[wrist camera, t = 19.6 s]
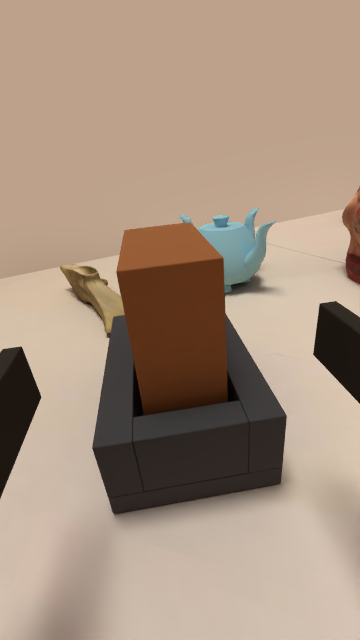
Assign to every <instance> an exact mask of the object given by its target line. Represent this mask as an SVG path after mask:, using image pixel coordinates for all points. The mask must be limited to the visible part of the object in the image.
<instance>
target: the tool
mask: <svg viewBox="0 0 360 640" xmlns="http://www.w3.org/2000/svg"><path fill="white" fill-rule="evenodd" d="M60 269H61V271H62V272H63V273H64V275H65V276H66V278H67V280H68V281H69V283H70V285H71V286H72V288H73V290H74V291H75V293H76V294H77V295H78V296H79V297H80V299H81V300H83V301H84V302H87V303H91V304H92V305H93V307H94V308H95V309H96V310H97V312H98V313H99V315H100V316H101V318H102V319H103V321H104V325H105V332H107V333H111V327H112V321H113V317H114V316H120V315H125V313H124V308H123V303H122V298H121V296H119V295H118V294H116V293H115V292H114V291H113V290H111V289H110V288H109V287H107V285H108V282H107V280H105V279H100V276H99V274H98V271H97V270H96V269H94V268H92V267H90V266H78V265H73V264H72V265H67V266H60Z"/></svg>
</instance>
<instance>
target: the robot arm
mask: <svg viewBox="0 0 360 640" xmlns="http://www.w3.org/2000/svg"><path fill="white" fill-rule="evenodd" d="M313 355H314V356H315V357H316V358H317V359H318V360H319V361H320V362H321V363H322V364H323V365H324V366H325V367H326V368H327V370H328V371H329V372H330V373H331V374H332V375H333V376H334V377H335V378H336V379H337V380H338V381H339V382H340V383H341V384H342V385H343V386H344V388H345V389H346V390H347V391H348V392H349V393H350V394H351V395H352V396H353V397H354V398H355V399H356V400H357V401H358V402H359V403H360V317H358V316H357V315H356V314H354V313H353V312H351V311H350V310H348V309H347V308H345V307H344V306H342V305H341V304H339V303H338V302H336V301H335V302H328V303H321V304H320V306H319V314H318V322H317V330H316V338H315V345H314V353H313ZM40 399H41V395H40V392H39V390H38V387H37V385H36V382H35V380H34V377H33V374H32V372H31V369H30V367H29V364H28V362H27V359H26V356H25V354H24V351H23V349H22V347H15V348H8V349H3V350H2V351H1V353H0V498H1V495H2V493H3V490H4V488H5V485H6V483H7V480H8V478H9V475H10V473H11V471H12V468H13V466H14V463H15V461H16V458H17V456H18V453H19V451H20V448H21V446H22V443H23V441H24V439H25V436H26V434H27V431H28V429H29V426H30V424H31V421H32V419H33V416H34V414H35V411H36V409H37V407H38V404H39V402H40Z"/></svg>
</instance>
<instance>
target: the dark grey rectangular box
mask: <svg viewBox="0 0 360 640" xmlns="http://www.w3.org/2000/svg"><path fill="white" fill-rule="evenodd" d="M225 320H226V356H227V391H228V402H226V403H219V404H213V405H207V406H201V407H195V408H188V409H182V410H176V411H170V412H164V413H157V414H151V415H144V410H143V405H142V400H141V395H140V390H139V385H138V380H137V374H136V369H135V364H134V359H133V354H132V349H131V344H130V339H129V334H128V329H127V323H126V318H125V315H120V316H114V317H113V321H112V327H111V334H110V340H109V346H108V353H107V359H106V365H105V372H104V378H103V384H102V390H101V397H100V403H99V409H98V416H97V422H96V428H95V435H94V441H93V447H92V448H93V451H94V455H95V458H96V461H97V464H98V467H99V470H100V473H101V476H102V479H103V483H104V486H105V489H106V492H107V495H108V498H109V501H110V504H111V507H112V511H113V513H114V514H116V513H121V512H127V511H132V510H138V509H143V508H149V507H154V506H160V505H165V504H171V503H176V502H182V501H187V500H193V499H198V498H204V497H209V496H215V495H220V494H226V493H231V492H237V491H242V490H248V489H253V488H259V487H264V486H270V485H275V484H280V483H281V473H282V463H283V452H284V441H285V429H286V418H287V415H286V414H285V412H284V410H283V409H282V407H281V405H280V404H279V402H278V400H277V399H276V397H275V395H274V394H273V392H272V390H271V389H270V387H269V385H268V384H267V382H266V380H265V379H264V377H263V375H262V374H261V372H260V370H259V369H258V367H257V365H256V364H255V362H254V360H253V359H252V357H251V355H250V354H249V352H248V350H247V349H246V347H245V345H244V344H243V342H242V340H241V339H240V337H239V335H238V334H237V332H236V330H235V329H234V327H233V325H232V324H231V322H230V320H229V318H228V317H227V315H226V313H225Z"/></svg>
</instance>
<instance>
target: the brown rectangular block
mask: <svg viewBox="0 0 360 640" xmlns="http://www.w3.org/2000/svg"><path fill="white" fill-rule="evenodd" d="M117 278H118V283H119V288H120V293H121V298H122V303H123V308H124V313H125V318H126V323H127V329H128V334H129V339H130V344H131V349H132V354H133V359H134V364H135V369H136V374H137V380H138V385H139V390H140V395H141V400H142V405H143V410H144V415H151V414H157V413H164V412H170V411H176V410H182V409H188V408H195V407H201V406H207V405H213V404H219V403H226V402H228V391H227V356H226V320H225V285H224V258H223V257H222V256H221V254H220V253H219V252H218V251H217V250H216V249H215V248H214V247H213V246H212V245H211V244H210V243H209V242H208V241H207V240H206V238H205V237H204V236H203V235H202V234H201V233H200V232H199V231H198V230H197V229H196V228H195V227H194V226H193V225H192V224H191V223H190V222H189V223H181V224H172V225H164V226H155V227H147V228H139V229H130V230H125V231H124V236H123V241H122V246H121V251H120V257H119V262H118V267H117Z"/></svg>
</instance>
